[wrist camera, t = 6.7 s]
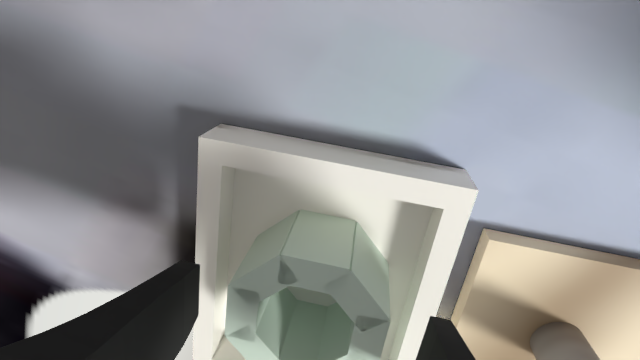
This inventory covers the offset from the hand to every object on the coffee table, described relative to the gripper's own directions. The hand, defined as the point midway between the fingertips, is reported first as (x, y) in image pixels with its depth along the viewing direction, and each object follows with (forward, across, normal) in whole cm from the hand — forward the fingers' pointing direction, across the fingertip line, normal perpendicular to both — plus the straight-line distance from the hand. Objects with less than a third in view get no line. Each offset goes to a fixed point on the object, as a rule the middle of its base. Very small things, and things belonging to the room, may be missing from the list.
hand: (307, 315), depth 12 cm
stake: (+3, -9, +1) cm, 10 cm away
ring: (+3, 0, 0) cm, 3 cm away
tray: (+3, 0, 0) cm, 3 cm away
